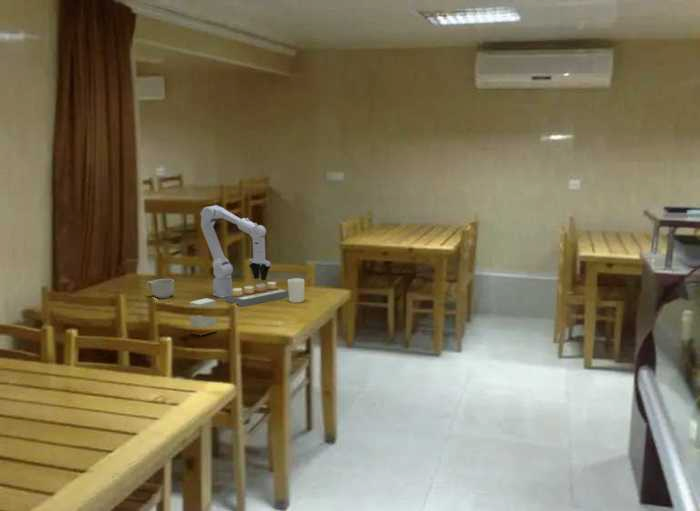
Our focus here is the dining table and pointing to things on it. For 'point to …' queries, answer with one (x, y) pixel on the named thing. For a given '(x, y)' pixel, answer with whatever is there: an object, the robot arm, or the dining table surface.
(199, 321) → the small box
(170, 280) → the teacup
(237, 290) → the button
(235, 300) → the board
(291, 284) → the white cup
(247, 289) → the button
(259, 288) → the button
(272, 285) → the button
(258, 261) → the robot arm
